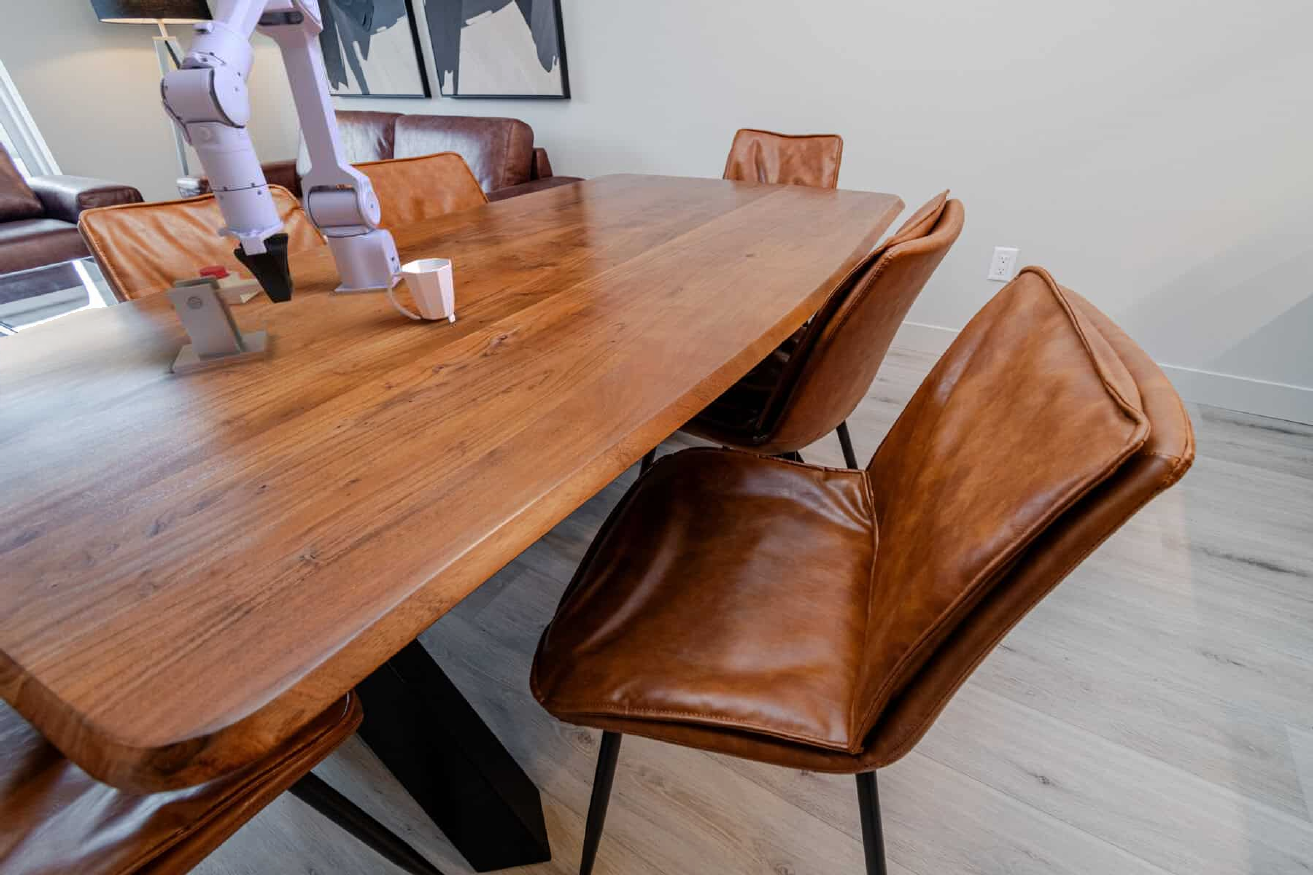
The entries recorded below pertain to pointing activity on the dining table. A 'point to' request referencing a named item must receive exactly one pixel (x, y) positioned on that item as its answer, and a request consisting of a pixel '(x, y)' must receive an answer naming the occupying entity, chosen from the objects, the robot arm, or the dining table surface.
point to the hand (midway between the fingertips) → (283, 297)
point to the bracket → (210, 327)
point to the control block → (235, 280)
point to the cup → (427, 288)
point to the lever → (243, 289)
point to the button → (214, 272)
